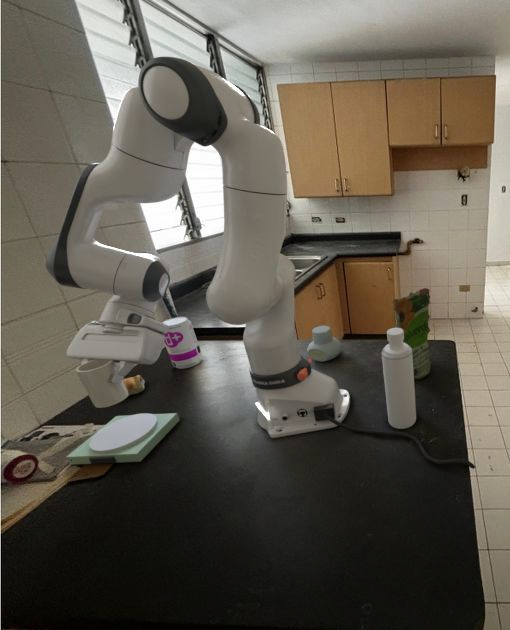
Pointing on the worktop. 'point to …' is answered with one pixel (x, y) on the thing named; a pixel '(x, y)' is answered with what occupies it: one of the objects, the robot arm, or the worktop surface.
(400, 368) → the white bottle
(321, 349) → the air freshener
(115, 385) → the cup
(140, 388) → the pastry
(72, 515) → the worktop surface
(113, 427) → the scale
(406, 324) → the pouch
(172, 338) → the supplement can
